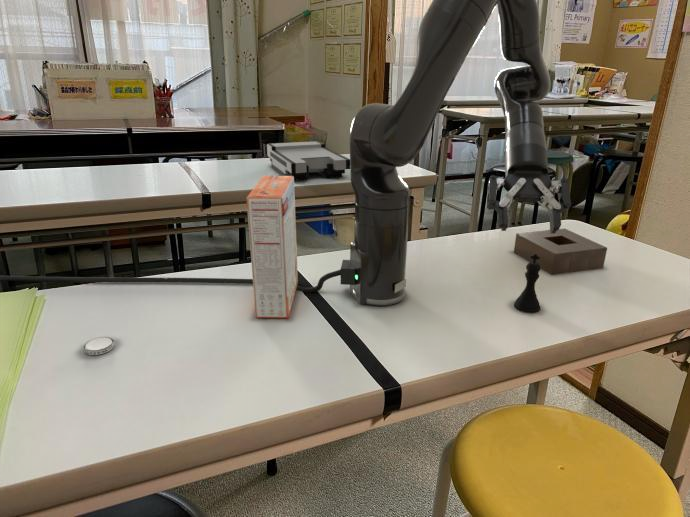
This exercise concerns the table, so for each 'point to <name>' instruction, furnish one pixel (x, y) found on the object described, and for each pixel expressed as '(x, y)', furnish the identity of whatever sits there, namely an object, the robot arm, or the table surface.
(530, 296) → the chess piece
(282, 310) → the cracker box
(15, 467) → the table surface
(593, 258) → the pad block
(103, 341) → the silver round flat disc
